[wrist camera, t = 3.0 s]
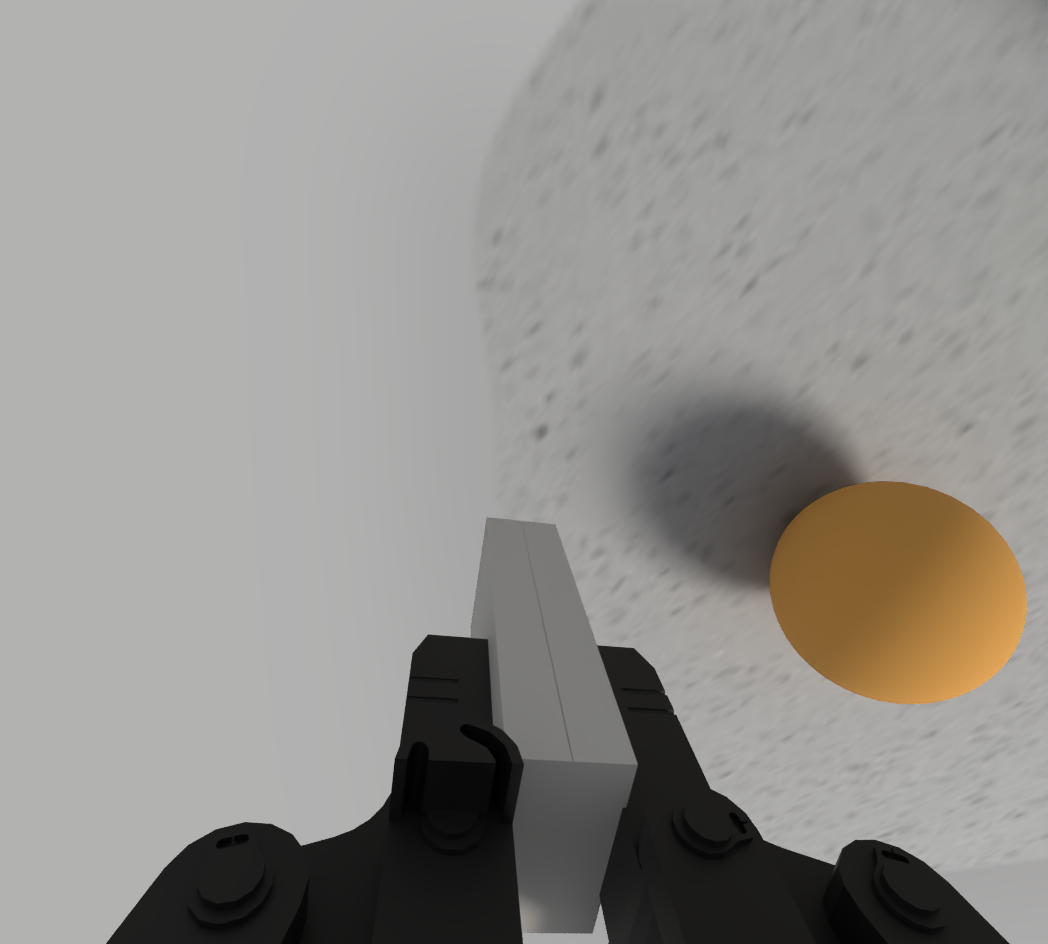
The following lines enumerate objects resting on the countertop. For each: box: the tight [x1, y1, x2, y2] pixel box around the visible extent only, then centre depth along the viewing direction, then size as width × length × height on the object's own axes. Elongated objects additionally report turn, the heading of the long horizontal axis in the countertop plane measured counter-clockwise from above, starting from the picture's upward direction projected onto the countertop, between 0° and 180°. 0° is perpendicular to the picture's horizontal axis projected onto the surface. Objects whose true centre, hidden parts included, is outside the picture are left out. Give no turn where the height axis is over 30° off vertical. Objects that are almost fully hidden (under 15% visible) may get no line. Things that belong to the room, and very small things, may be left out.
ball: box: [770, 481, 1027, 704], centre depth 15 cm, size 6×6×6 cm
